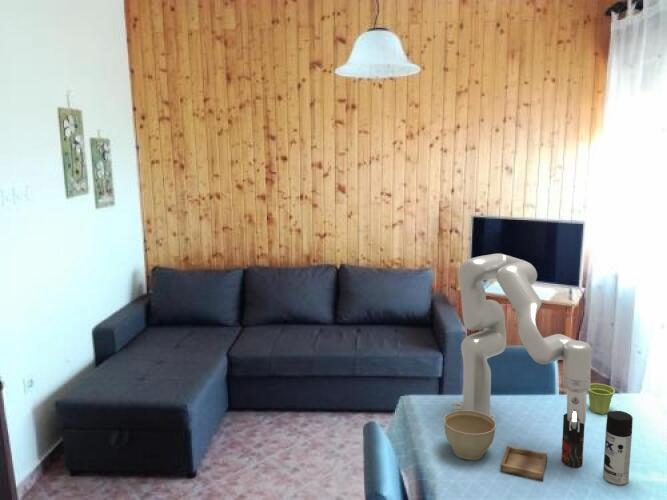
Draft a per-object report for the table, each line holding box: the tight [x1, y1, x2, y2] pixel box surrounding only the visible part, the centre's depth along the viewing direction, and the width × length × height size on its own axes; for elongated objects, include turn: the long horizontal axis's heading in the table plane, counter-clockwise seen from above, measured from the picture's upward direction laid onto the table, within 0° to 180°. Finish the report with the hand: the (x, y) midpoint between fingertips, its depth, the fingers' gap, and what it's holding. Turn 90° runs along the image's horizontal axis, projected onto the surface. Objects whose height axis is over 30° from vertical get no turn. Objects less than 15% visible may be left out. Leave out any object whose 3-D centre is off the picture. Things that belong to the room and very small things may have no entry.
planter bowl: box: [443, 410, 497, 461], centre depth 174 cm, size 16×16×11 cm
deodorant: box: [561, 412, 586, 469], centre depth 166 cm, size 6×6×15 cm
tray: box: [500, 445, 548, 482], centre depth 166 cm, size 12×12×2 cm
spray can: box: [602, 410, 634, 486], centre depth 157 cm, size 7×7×20 cm
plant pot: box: [587, 383, 616, 415], centre depth 199 cm, size 9×9×9 cm
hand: (575, 435), depth 165 cm, fingers open, 9 cm apart
